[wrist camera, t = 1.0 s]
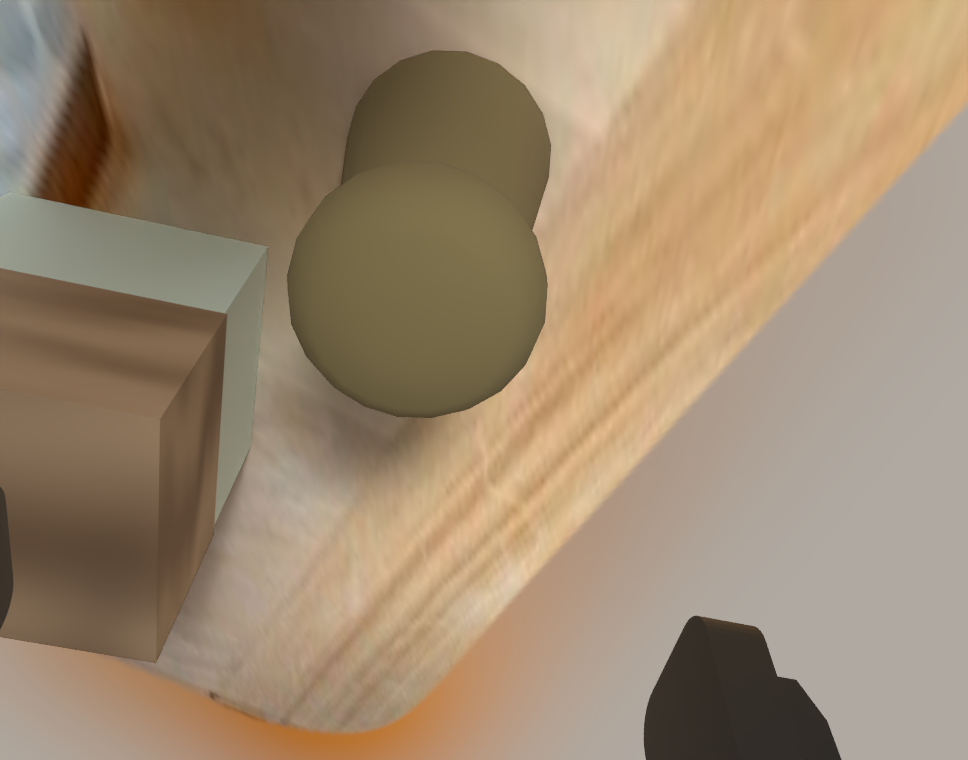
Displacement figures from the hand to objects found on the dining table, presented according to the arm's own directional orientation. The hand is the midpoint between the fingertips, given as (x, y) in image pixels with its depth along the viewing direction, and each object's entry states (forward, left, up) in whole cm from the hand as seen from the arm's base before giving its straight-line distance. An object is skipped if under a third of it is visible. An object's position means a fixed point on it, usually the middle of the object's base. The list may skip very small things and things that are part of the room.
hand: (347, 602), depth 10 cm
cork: (0, 0, -18) cm, 18 cm away
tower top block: (+8, -9, -13) cm, 17 cm away
